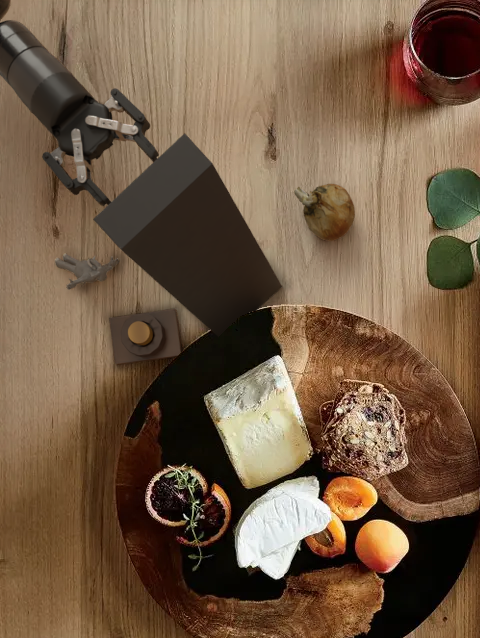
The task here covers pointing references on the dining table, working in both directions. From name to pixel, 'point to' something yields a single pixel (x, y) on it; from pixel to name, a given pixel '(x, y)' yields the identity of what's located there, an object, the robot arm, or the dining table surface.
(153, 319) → the control block
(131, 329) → the button
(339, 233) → the onion
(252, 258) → the dark brown rectangular box
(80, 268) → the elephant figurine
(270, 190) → the dining table surface
